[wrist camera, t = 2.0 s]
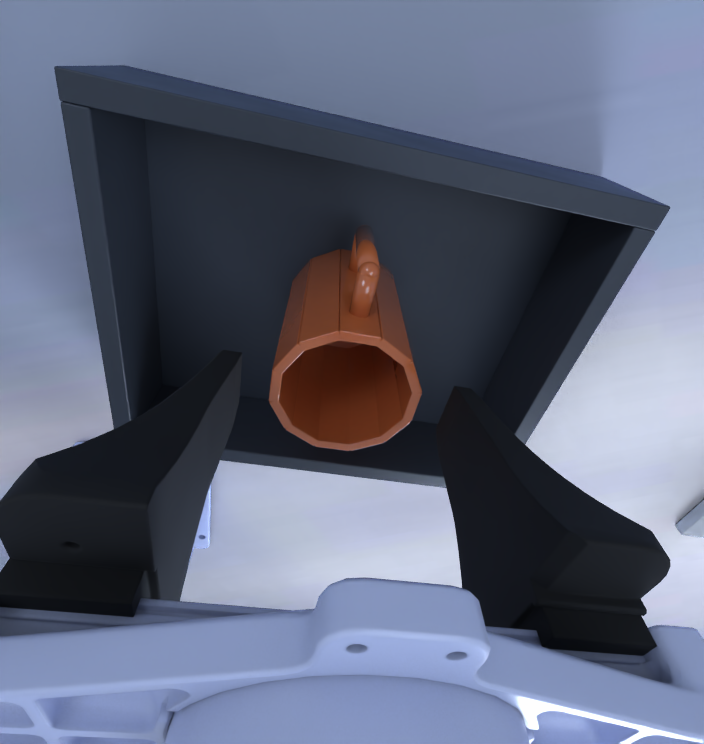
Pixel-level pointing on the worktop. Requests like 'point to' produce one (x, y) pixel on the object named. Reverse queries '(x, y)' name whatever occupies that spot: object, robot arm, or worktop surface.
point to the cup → (345, 352)
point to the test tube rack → (693, 522)
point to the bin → (326, 234)
